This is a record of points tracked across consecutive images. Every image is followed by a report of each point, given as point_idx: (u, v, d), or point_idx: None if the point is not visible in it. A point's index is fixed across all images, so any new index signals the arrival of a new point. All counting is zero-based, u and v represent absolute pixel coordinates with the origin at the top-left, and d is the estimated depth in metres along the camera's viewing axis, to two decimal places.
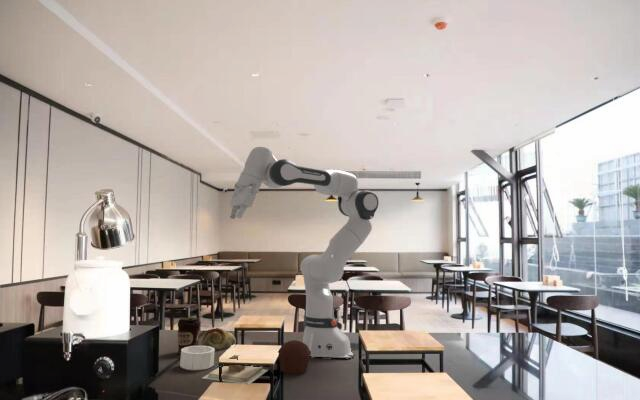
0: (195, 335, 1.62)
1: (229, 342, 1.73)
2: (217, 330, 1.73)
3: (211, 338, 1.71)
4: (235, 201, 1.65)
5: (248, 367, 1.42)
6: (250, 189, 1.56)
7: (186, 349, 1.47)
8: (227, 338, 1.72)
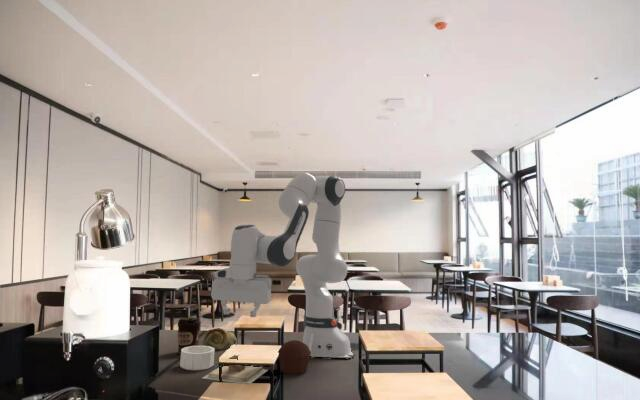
0: (195, 335, 1.62)
1: (230, 342, 1.73)
2: (218, 330, 1.73)
3: (212, 338, 1.71)
4: (232, 296, 1.40)
5: (248, 367, 1.42)
6: (267, 285, 1.38)
7: (186, 349, 1.47)
8: (228, 338, 1.72)
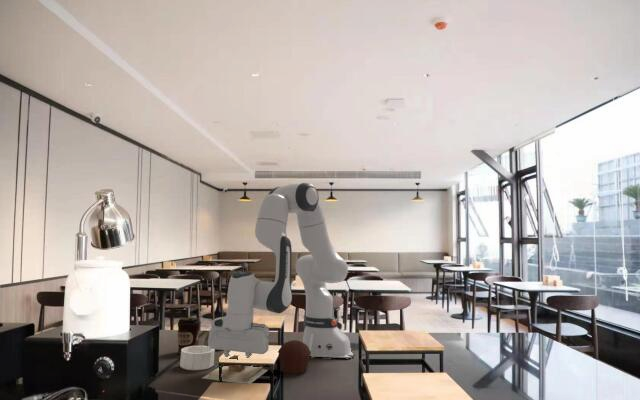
0: (195, 335, 1.62)
1: None
2: None
3: None
4: (229, 345, 1.38)
5: (248, 367, 1.42)
6: (264, 335, 1.37)
7: (186, 349, 1.47)
8: None
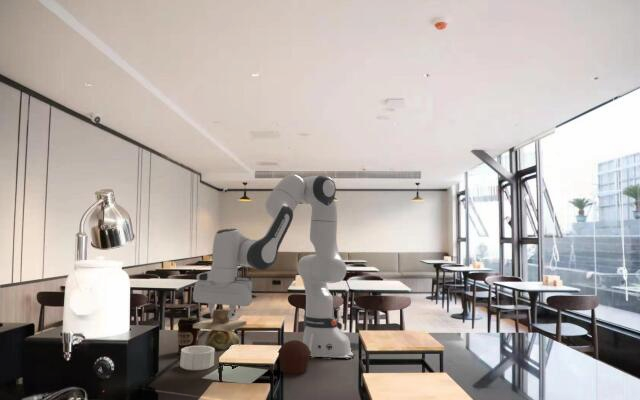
0: (195, 335, 1.62)
1: (233, 342, 1.73)
2: None
3: (215, 338, 1.71)
4: (213, 298, 1.42)
5: (232, 321, 1.46)
6: (248, 288, 1.41)
7: (186, 349, 1.47)
8: (231, 338, 1.72)
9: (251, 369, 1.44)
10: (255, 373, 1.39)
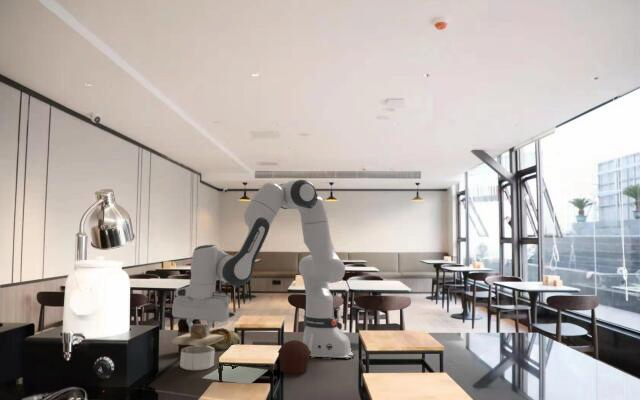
0: None
1: (234, 342, 1.73)
2: (222, 330, 1.73)
3: None
4: (192, 314, 1.46)
5: (210, 335, 1.49)
6: (225, 303, 1.44)
7: (186, 349, 1.47)
8: (232, 338, 1.73)
9: (251, 369, 1.44)
10: (255, 373, 1.39)
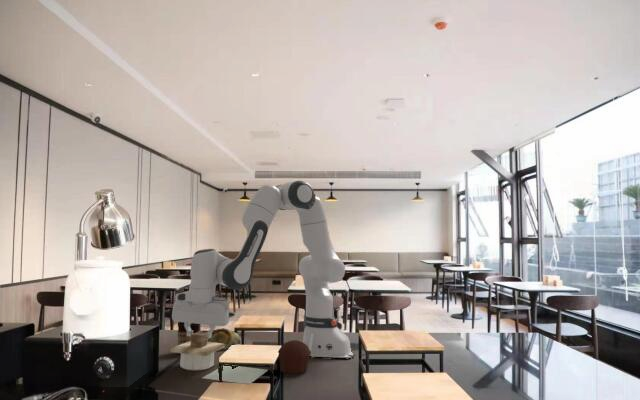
0: None
1: (235, 342, 1.73)
2: (223, 330, 1.73)
3: (217, 339, 1.72)
4: (191, 318, 1.46)
5: (210, 344, 1.49)
6: (224, 307, 1.44)
7: None
8: (233, 338, 1.73)
9: (251, 369, 1.44)
10: (255, 373, 1.39)
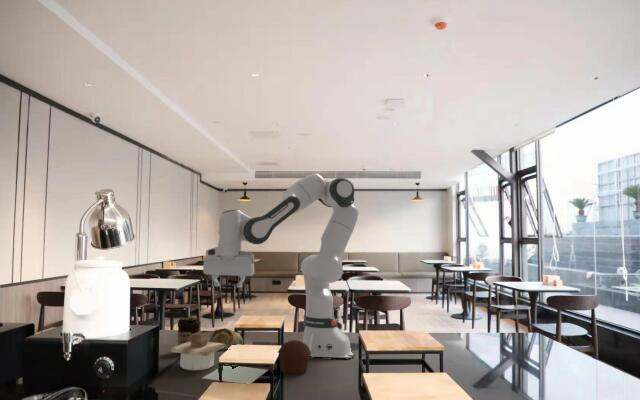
0: None
1: (237, 342, 1.74)
2: (225, 330, 1.73)
3: (218, 339, 1.72)
4: (221, 270, 1.64)
5: (210, 344, 1.49)
6: (250, 260, 1.63)
7: None
8: (235, 338, 1.73)
9: (251, 369, 1.44)
10: (255, 373, 1.39)
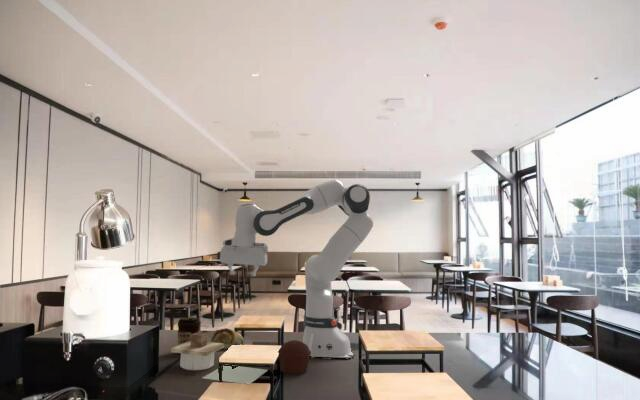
0: None
1: (238, 342, 1.74)
2: (226, 330, 1.73)
3: (220, 339, 1.72)
4: (236, 260, 1.77)
5: (210, 344, 1.49)
6: (264, 251, 1.76)
7: None
8: (236, 338, 1.73)
9: (251, 369, 1.44)
10: (255, 373, 1.39)
